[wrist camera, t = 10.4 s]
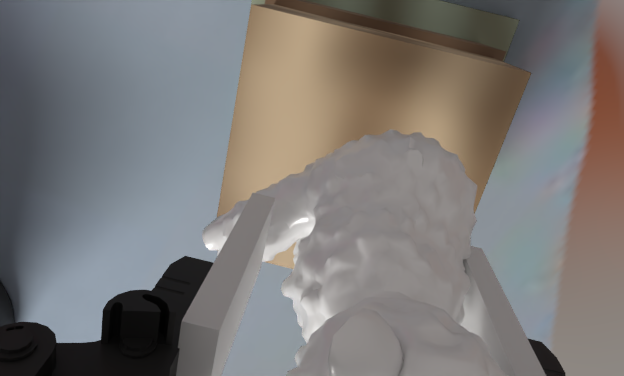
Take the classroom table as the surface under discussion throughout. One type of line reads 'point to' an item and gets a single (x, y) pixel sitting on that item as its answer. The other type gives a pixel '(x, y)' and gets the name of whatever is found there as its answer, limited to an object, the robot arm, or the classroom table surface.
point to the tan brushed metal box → (367, 86)
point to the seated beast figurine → (376, 259)
